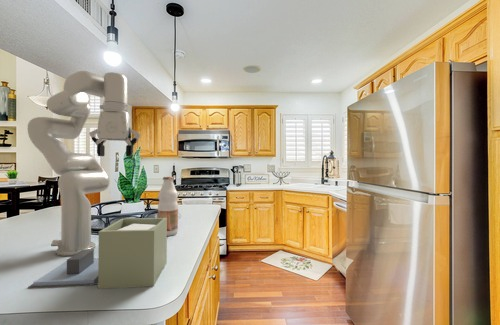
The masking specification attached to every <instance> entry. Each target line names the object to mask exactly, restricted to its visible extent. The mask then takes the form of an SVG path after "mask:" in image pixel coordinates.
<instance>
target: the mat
mask: <svg viewBox="0 0 500 325" xmlns="http://www.w3.org/2000/svg"><path fill="white" fill-rule="evenodd" d="M77 286H78V287H81V286H82V287H83V286H85V287H87V286H98V280H97V281H96V282H95V283H88V284H66V285H44V286H33V283H32V284H31V285H29V286H28V287H27V289H34V288H35V289H37V288H38V289H40V288H61V287H63V288H64V287H77Z"/></svg>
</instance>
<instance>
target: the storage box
mask: <svg viewBox="0 0 500 325" xmlns="http://www.w3.org/2000/svg"><path fill="white" fill-rule="evenodd" d="M131 224H149V225H156V226H155V227H154V228H153V229H152V230H119V229H121V228H123V227H126V226H129V225H131ZM167 238H168V236H167V218H158V217H157V218H155V217H146V218H145V217H141V218H139V217H138V218H137V217H136V218H133V217H132V218H130V217H129V218H120V219H119V220H117V221H115V222H113V223H111V224H110V225H108V226H107V227H106V226H105V228H103V229H101V230H99V231H98V257H97V258H98V284H97V286H98V289H114V288H116V289H117V288H138V287H139V288H141V287H154V286H155V284H156V283H157V281H158V279H159V277H160V275H161V274H162V272H163V270H164V269H165V267H166V265H167V258H168V256H167V252H168V248H167V247H168V246H167V244H168V242H167V241H168V240H167Z"/></svg>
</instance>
